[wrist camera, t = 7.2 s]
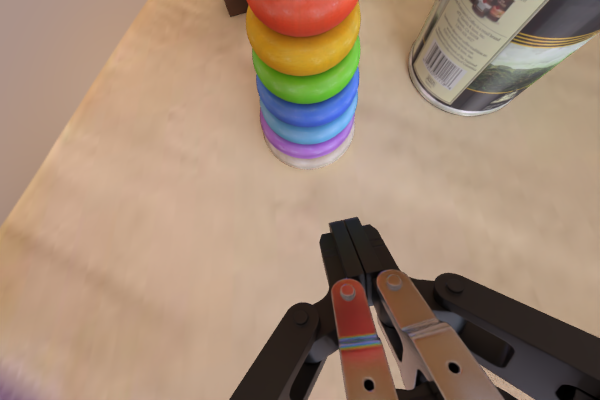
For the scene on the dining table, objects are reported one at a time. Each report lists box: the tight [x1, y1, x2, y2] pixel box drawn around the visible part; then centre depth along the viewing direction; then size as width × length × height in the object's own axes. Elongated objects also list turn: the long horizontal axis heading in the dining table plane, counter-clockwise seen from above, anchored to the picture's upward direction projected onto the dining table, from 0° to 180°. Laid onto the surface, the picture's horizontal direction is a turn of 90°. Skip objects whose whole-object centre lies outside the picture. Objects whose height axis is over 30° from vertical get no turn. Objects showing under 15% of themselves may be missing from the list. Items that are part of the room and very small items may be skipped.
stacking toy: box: [246, 0, 361, 170], centre depth 14 cm, size 8×8×19 cm
